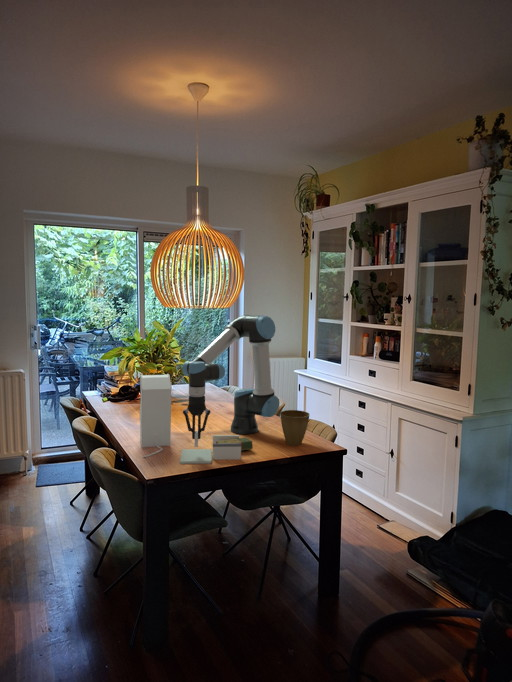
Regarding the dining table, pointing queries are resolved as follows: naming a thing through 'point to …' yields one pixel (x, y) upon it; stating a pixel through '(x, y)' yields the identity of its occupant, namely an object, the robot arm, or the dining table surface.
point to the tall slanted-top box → (155, 411)
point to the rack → (226, 447)
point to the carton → (245, 442)
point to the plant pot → (294, 426)
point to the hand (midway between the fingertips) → (196, 445)
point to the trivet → (196, 456)
